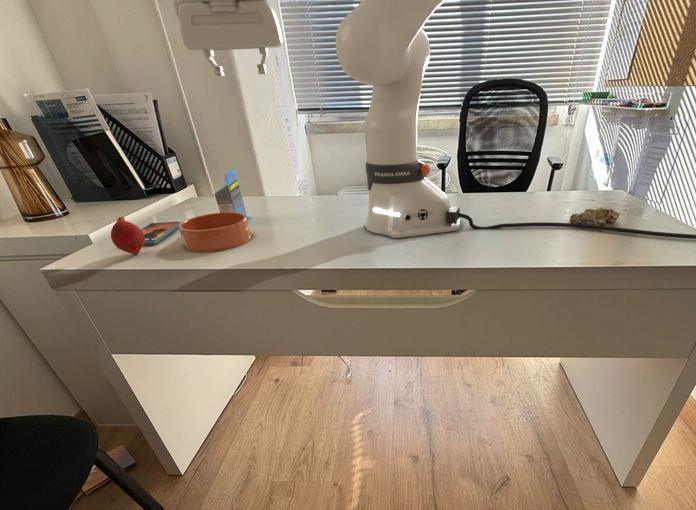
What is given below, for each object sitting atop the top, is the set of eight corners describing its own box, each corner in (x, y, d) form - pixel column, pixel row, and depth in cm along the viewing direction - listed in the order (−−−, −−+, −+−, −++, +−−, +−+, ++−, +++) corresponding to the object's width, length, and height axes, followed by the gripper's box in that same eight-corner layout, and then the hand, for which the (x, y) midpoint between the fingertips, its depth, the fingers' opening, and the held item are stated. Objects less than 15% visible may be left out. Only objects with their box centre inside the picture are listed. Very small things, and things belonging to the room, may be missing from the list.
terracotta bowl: (257, 229, 95) (252, 210, 92) (242, 249, 83) (236, 228, 81) (199, 232, 95) (192, 214, 92) (175, 253, 83) (167, 232, 80)
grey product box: (233, 218, 104) (219, 168, 97) (248, 217, 104) (235, 167, 97) (223, 228, 97) (207, 175, 90) (239, 227, 97) (225, 174, 90)
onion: (136, 259, 81) (119, 221, 76) (113, 258, 82) (95, 220, 77) (156, 250, 85) (141, 213, 81) (134, 249, 86) (118, 212, 82)
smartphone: (118, 243, 87) (150, 222, 100) (121, 249, 88) (152, 228, 100) (153, 240, 87) (181, 219, 99) (156, 246, 88) (183, 225, 100)
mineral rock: (608, 206, 91) (627, 205, 84) (606, 225, 93) (625, 226, 85) (562, 210, 91) (577, 209, 84) (561, 229, 93) (576, 230, 85)
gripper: (163, -10, 75) (188, 77, 83) (269, -14, 75) (284, 72, 83) (176, -4, 80) (199, 77, 88) (276, -8, 81) (289, 73, 89)
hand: (241, 75), depth 86 cm, fingers open, 8 cm apart
